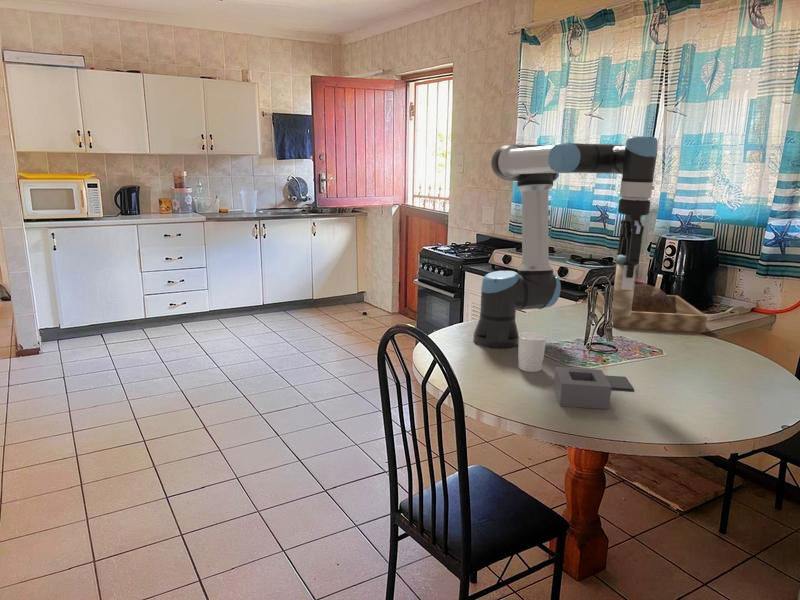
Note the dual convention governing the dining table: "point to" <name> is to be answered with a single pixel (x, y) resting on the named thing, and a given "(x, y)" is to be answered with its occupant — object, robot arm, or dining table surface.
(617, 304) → the plug
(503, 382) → the dining table surface
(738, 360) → the dining table surface
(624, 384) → the mat
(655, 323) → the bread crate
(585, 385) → the socket
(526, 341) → the white cup
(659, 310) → the bread
